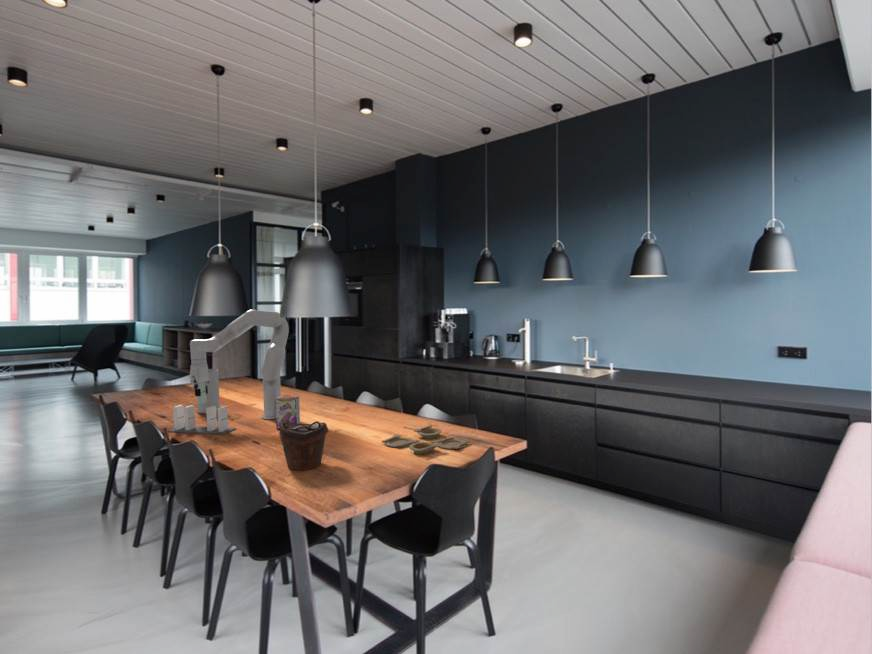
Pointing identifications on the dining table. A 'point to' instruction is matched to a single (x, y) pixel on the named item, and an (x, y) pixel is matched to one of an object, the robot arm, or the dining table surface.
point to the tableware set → (425, 446)
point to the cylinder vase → (211, 392)
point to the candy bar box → (287, 410)
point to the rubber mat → (202, 430)
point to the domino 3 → (202, 394)
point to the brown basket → (303, 444)
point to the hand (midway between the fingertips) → (201, 394)
